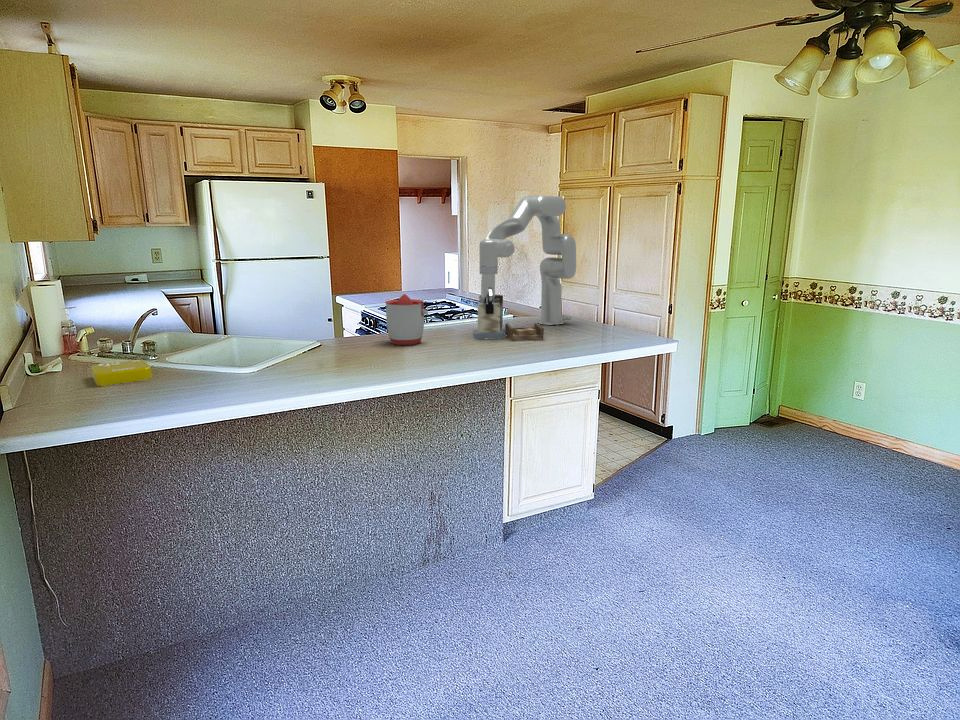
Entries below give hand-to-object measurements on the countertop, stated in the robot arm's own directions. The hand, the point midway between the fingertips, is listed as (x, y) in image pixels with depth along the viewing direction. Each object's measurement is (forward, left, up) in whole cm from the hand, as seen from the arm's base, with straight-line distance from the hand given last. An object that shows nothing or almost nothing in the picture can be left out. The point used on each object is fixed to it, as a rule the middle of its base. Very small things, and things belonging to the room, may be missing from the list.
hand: (488, 312), depth 252 cm
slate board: (0, 0, -11) cm, 11 cm away
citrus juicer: (+34, +8, -11) cm, 37 cm away
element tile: (+123, +54, -12) cm, 135 cm away
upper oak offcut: (-15, +5, -9) cm, 18 cm away
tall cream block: (0, 0, -8) cm, 8 cm away
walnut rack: (-15, +2, -11) cm, 19 cm away
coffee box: (-3, -16, -11) cm, 20 cm away
